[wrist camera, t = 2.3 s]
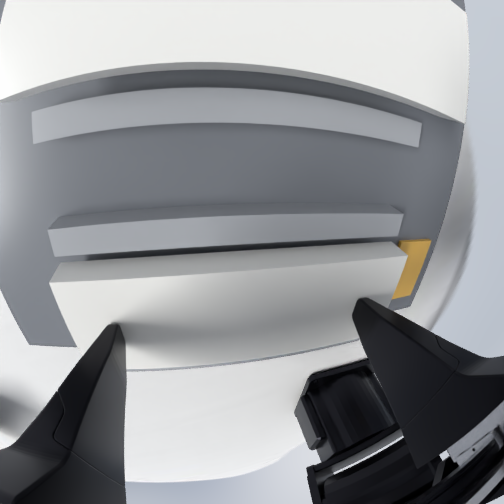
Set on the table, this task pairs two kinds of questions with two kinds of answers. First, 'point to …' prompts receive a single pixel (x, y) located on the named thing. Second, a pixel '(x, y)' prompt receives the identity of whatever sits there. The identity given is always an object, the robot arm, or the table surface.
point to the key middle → (244, 44)
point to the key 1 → (225, 301)
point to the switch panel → (211, 177)
